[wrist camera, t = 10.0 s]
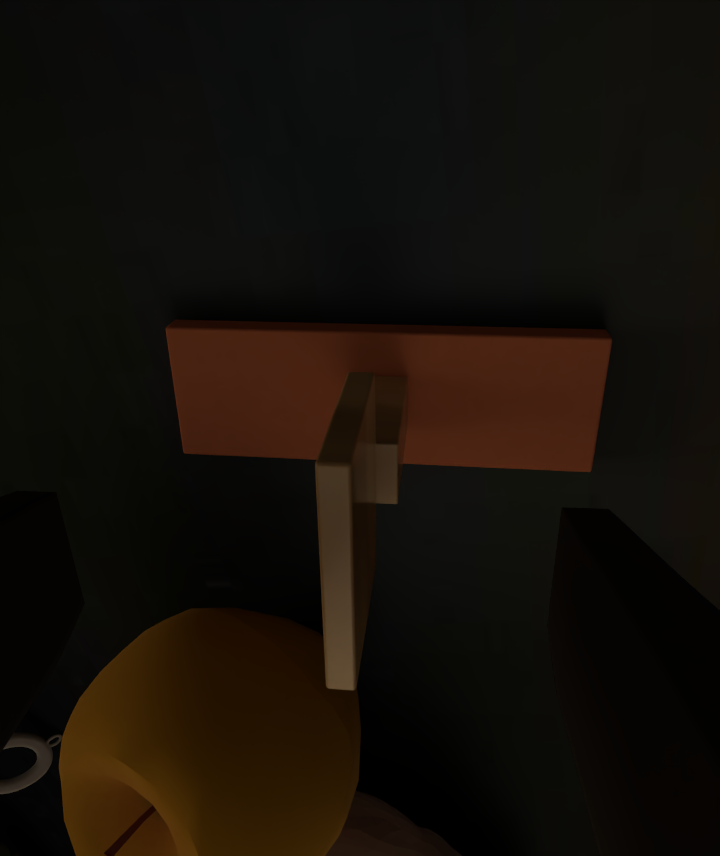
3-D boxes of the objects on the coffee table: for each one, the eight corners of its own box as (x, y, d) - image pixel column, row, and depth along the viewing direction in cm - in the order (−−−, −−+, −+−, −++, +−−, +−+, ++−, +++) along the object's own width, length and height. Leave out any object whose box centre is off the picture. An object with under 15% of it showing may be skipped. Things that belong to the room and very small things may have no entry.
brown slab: (406, 480, 20) (382, 694, 13) (352, 477, 20) (299, 687, 13) (409, 315, 18) (382, 465, 11) (349, 314, 18) (282, 460, 11)
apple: (230, 521, 25) (5, 630, 17) (440, 628, 21) (272, 824, 14) (199, 704, 28) (-6, 868, 20) (379, 825, 24) (214, 1076, 17)
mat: (586, 459, 20) (592, 473, 19) (191, 442, 21) (182, 454, 21) (606, 328, 18) (613, 338, 17) (174, 318, 20) (164, 327, 19)
